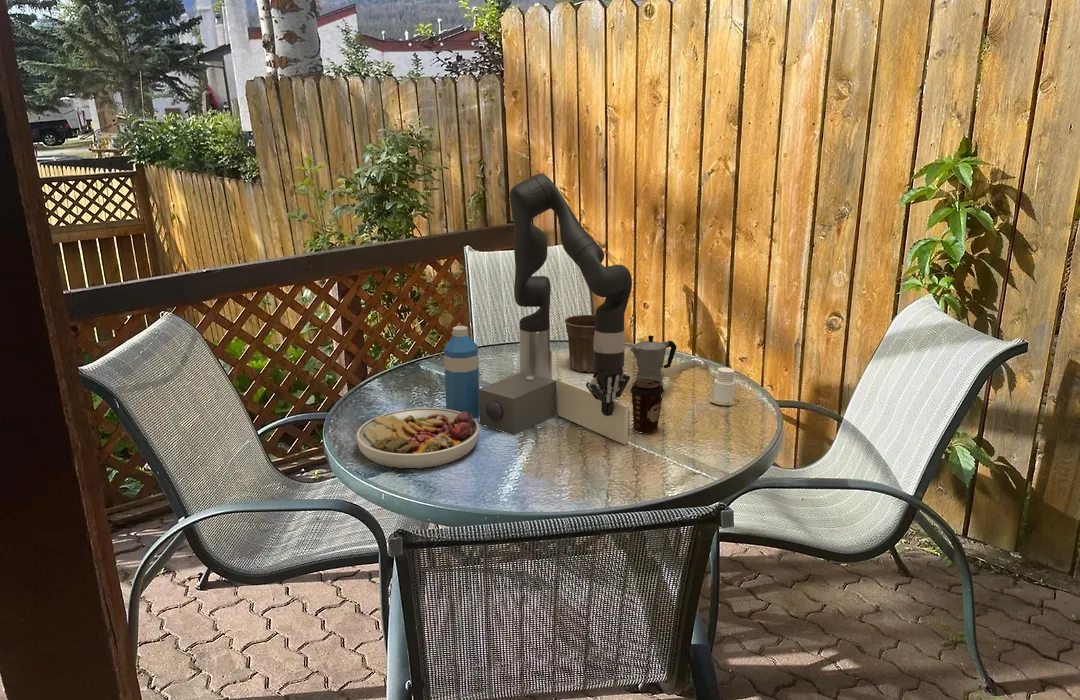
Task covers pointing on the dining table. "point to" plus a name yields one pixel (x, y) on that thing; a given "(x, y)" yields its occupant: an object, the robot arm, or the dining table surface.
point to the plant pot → (581, 342)
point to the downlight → (724, 385)
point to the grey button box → (517, 402)
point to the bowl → (418, 437)
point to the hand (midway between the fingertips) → (607, 414)
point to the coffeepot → (652, 358)
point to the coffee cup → (646, 405)
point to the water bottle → (462, 372)
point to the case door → (591, 411)
